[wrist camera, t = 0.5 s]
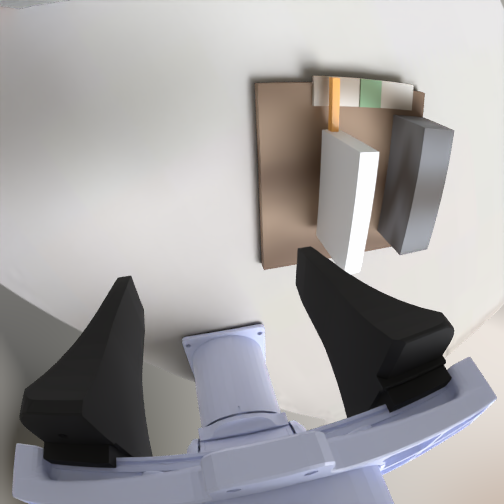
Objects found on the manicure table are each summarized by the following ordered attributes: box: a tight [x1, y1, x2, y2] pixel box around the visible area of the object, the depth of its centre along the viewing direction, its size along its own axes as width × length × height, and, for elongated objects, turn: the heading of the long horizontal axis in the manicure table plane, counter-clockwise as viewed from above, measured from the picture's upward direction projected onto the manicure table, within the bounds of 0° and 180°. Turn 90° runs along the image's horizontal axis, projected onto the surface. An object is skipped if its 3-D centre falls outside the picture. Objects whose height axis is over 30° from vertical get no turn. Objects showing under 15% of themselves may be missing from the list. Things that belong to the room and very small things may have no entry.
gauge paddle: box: [316, 77, 379, 274], centre depth 18 cm, size 12×1×5 cm, turn 3°
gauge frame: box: [255, 76, 454, 270], centre depth 20 cm, size 14×13×4 cm
